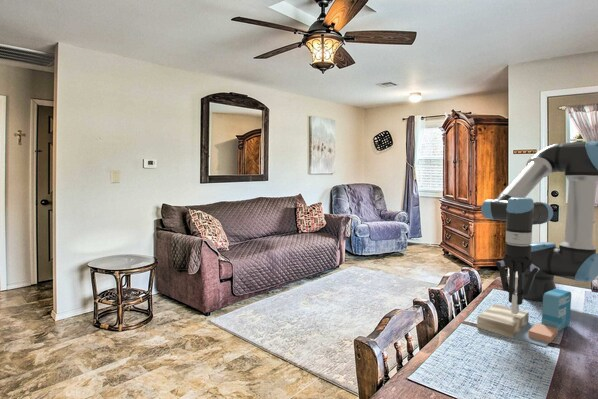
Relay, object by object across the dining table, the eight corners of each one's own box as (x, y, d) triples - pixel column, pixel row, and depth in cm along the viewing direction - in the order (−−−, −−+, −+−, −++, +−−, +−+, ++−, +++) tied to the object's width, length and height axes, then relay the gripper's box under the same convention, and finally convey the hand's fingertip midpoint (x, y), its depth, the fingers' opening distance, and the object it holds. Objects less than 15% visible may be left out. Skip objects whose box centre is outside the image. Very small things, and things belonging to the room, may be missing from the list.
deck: (494, 314, 139) (495, 303, 139) (528, 323, 131) (528, 311, 131) (477, 327, 127) (477, 316, 127) (512, 337, 119) (513, 325, 119)
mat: (528, 323, 131) (528, 322, 131) (558, 330, 125) (559, 330, 125) (512, 337, 119) (512, 336, 119) (545, 347, 113) (545, 346, 113)
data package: (556, 332, 122) (558, 296, 122) (540, 328, 126) (543, 293, 125) (569, 325, 129) (571, 290, 129) (554, 320, 133) (556, 287, 132)
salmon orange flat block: (557, 328, 121) (557, 334, 121) (536, 322, 125) (536, 328, 126) (550, 336, 115) (550, 343, 115) (528, 330, 119) (528, 336, 119)
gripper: (493, 242, 127) (490, 310, 128) (537, 248, 117) (533, 321, 119) (500, 239, 132) (498, 305, 133) (543, 245, 122) (540, 315, 124)
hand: (515, 312), depth 126 cm, fingers closed
